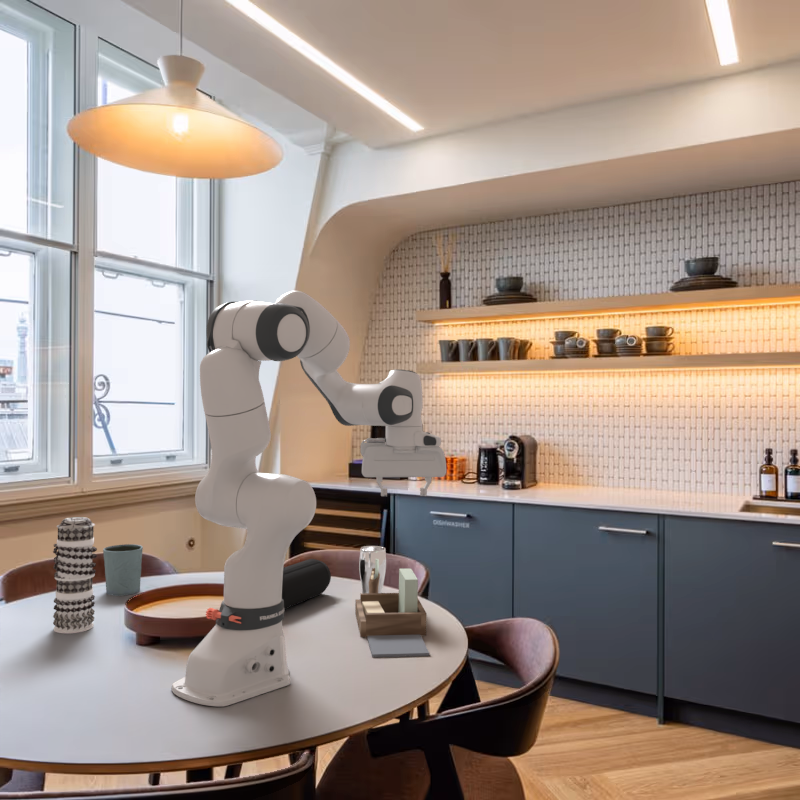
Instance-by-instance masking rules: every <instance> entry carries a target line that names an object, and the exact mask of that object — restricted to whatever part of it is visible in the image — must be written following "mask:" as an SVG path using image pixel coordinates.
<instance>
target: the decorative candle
mask: <svg viewBox="0 0 800 800" xmlns="http://www.w3.org/2000/svg"><path fill="white" fill-rule="evenodd" d="M95 526H96V523H93V522H92V520H91V519H90V518H88V517H86V516H85V517H84V516H77V517H76V516H73V517H66V518H63V519H62V520H61V522H60V524H58V525H56V528H57V539H56V543H54V544H53V547H54V548H53V550H52V553H53V554H55V557H54V558H53V562H54V563H55V564H53V569H54V570H55V572H54V576H53V577H54V579H55V580H56V589H55V598H54V600H53V603H54V604H55V605H54V607H53V610H55V611H54V613H53V616H52V617H53V618H54V620H53V622H52V623H53V626H54V627H53V631H54V632H55V633H58V634H64V635H65V634H69V635H70V634H78V633H83V632H86V631H89V630H91V629H93V628H94V621H95V616H94V615H95V609H93V607H95V602H94V600H95V598H96V596H95V594H94V586H93V581H94V580H93V578H94V577H95V575H96V574H95V573H96V572H97V571H96V569H94V568H95V567H96V565H97V564H96V562H94V561H93V560H94V559H96V558H97V556H98V555H97V554H96V553H95V552H96V551H97V550H98V548H97V547H95V546H94V543H95V536H94V531H95V530H94V527H95Z"/></svg>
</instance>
